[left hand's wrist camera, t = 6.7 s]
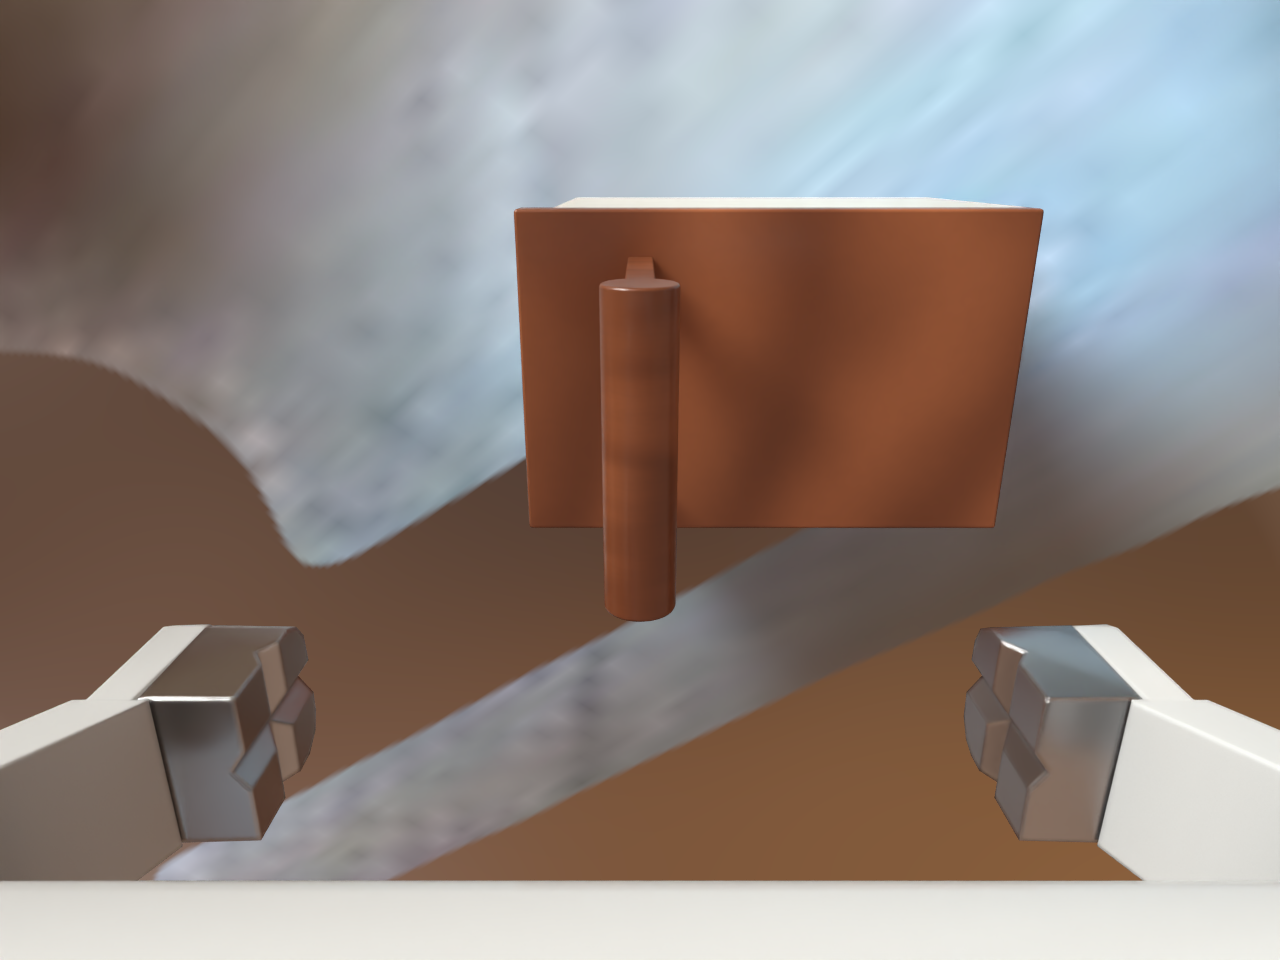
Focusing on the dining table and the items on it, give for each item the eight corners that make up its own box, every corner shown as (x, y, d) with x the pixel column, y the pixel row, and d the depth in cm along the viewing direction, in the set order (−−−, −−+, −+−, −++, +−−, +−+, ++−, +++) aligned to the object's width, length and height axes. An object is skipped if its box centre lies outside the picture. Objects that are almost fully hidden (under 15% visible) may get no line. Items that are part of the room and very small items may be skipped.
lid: (533, 516, 27) (485, 666, 19) (518, 207, 24) (453, 227, 16) (982, 516, 27) (1131, 667, 19) (1029, 207, 24) (1232, 226, 16)
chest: (581, 434, 36) (562, 515, 28) (575, 197, 33) (551, 207, 24) (902, 434, 36) (982, 515, 27) (928, 197, 33) (1028, 207, 24)
